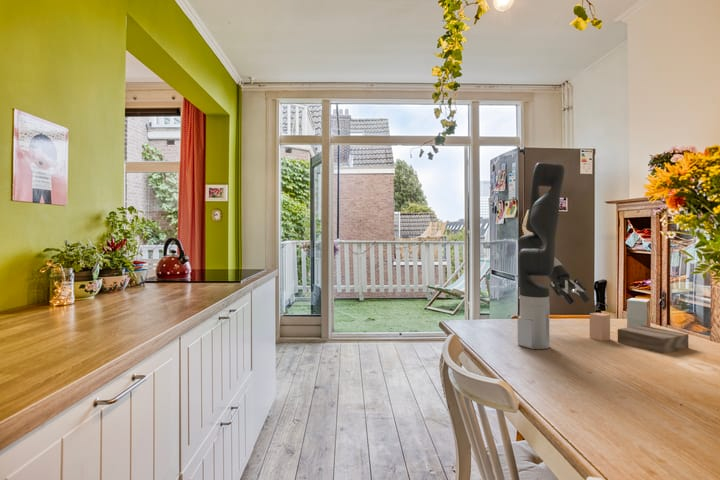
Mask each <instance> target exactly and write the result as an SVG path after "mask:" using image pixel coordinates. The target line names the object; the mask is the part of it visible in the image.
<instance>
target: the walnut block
mask: <svg viewBox="0 0 720 480" xmlns="http://www.w3.org/2000/svg"><path fill="white" fill-rule="evenodd" d="M617 343H619V344H623V345H627V346H632V347H635V348H640V349H643V348H644V350H646V351H647V350H648V351H653V352H655V353H659V354H660V353H661V354H666V353H672V352H673V353H674V352H677V351H681V350H685V349H686V348H687V349H689V333H684V332H678V331H673V330H669V329H668V330H667V329H662V328H657V327H652V326H650V327H648V326H643V325H640V326H634V327H628V328H627V327H622V328H618V329H617ZM687 349H686V350H687Z"/></svg>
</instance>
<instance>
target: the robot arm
mask: <svg viewBox="0 0 720 480" xmlns="http://www.w3.org/2000/svg"><path fill="white" fill-rule="evenodd" d="M564 178H565V166H564V165H563V164H560V163H553V162H552V163H551V162H541V161H540V162H537V163H536V164H535V165H534V168H533V171H532V177H531V184H530V194H529V208H528V214H527V219H526V222H525V228H526V229H525V230H527V231H528V232H529V233H530V234H525V235H522V236H520V237H519V238H518V240H517V244H518V247H519V248H520V250H519V253H518V256H517V258H518V259H517V262H518V263H517V264H518V277H519V279H518V283H519V285H518V287H519V316H518V317H517V345H518V346H521V347H525V348H527V349H529V350H535V349H536V350H546V349H549V348H550V345H551V343H550V340H551V339H550V289H549V287H547V286H545V285H542V284H540V283H538V282H536V281H535V280H533V278H532V276H535V277H537V276H539V277H546V278H548V280H549V281H550V283H549V286H550V287H551V289H552V290H553V292H554V293H555V294H556V295H557V296H558V297H560V296H561V297H563V298H564V300H565V301H566V302H567V303H568V304H569V305H573V304H574V303H575V299H574V298H573V297H572V295H571V294H570V293H569V292H571V293H573V294H574V293H575V294H577V295H578V296H579V297H580V298H581V300H582V301H583V302H584V303H585V304H587V303H589V302H590V301H591V299H590V297H589V296H588V295H587V294H586V291H588V289H587V288H586V287H585V286H584V285H583V283H582V282H581V281H580V280H579V279H578V278H574V279H571V278H570V275H571V274H570V272H569V271H568V270H567V269H566V267H565V266H564V265H563V264H562V263H561V261H559V259H558V258H556V257H555V251H556V250H555V249H556V234H557V228H558V221H559V216H560V215H559V214H560V201H561V193H562V188H563V183H564ZM540 187H547V188H549V187H550V189H549V190H548V191H547V192H546V193H544V194H543V195H542V196H541V195H540Z"/></svg>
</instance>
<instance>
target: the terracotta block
mask: <svg viewBox="0 0 720 480" xmlns="http://www.w3.org/2000/svg"><path fill="white" fill-rule="evenodd" d="M589 338H590V339H593V340H597V341H600V342H602V341H609V340H611V314H607V313H602V312H590V313H589Z"/></svg>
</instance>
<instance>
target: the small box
mask: <svg viewBox="0 0 720 480" xmlns="http://www.w3.org/2000/svg"><path fill="white" fill-rule="evenodd" d="M640 325H643V326H648V327H651V299H649V298H648V299H645V298H637V297H631V298H628V299H626V328H628V327H634V326H640Z"/></svg>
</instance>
